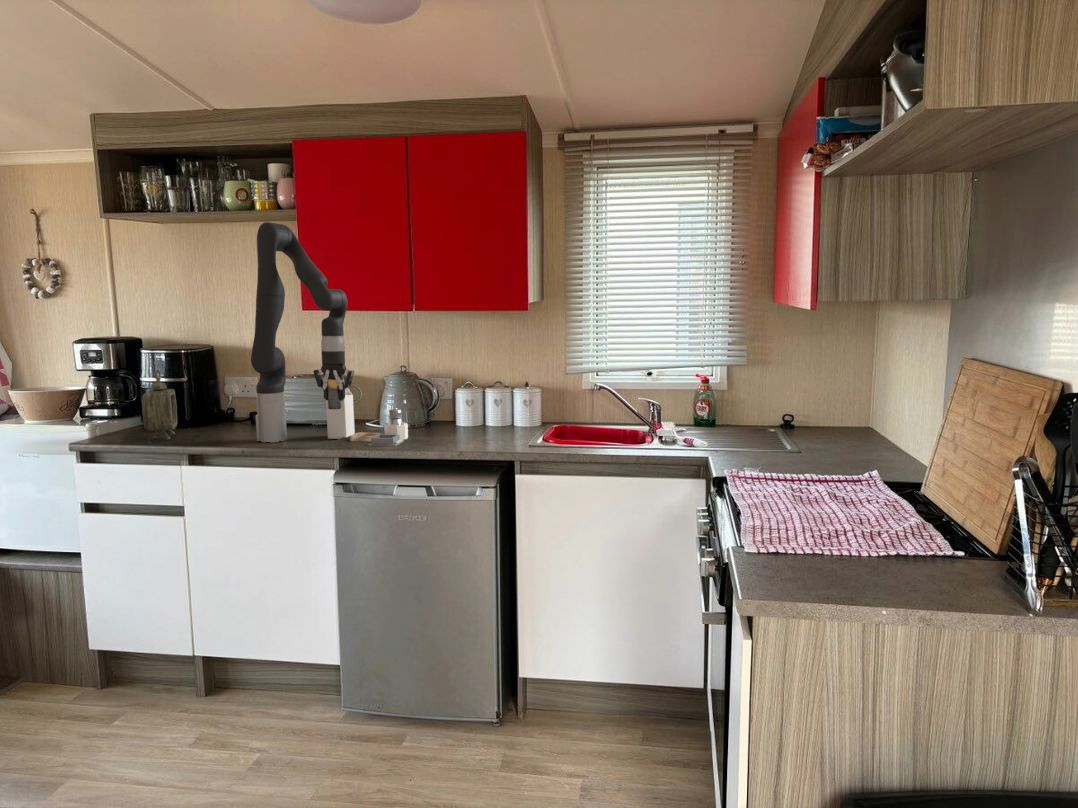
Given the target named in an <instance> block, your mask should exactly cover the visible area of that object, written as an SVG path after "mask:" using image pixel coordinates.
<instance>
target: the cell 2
mask: <svg viewBox="0 0 1078 808" xmlns="http://www.w3.org/2000/svg"><path fill="white" fill-rule="evenodd" d="M388 418H389V419H388V420H389V422H388V423H390V426H397V425H402V422H403V410H402V409H401V408H398V407H393V408H391V409H389V410H388Z"/></svg>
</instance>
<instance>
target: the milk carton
mask: <svg viewBox="0 0 1078 808" xmlns="http://www.w3.org/2000/svg"><path fill="white" fill-rule="evenodd" d="M341 406H342V408H341V409H328V400H325V407H326V409H325V411H326V425H327V426H326V427H327V428H326V429H327V439H330V440H333V439H334V440H335V439H336V440H340V439H342V438H348V437H350V436H351V435H353V434H355V432H356V430H355V414H354V411H355V409H354V394H353V393H352V391H351V390H350V387H348V388H346V389H345V399H344V400H343V401H341Z"/></svg>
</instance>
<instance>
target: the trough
mask: <svg viewBox="0 0 1078 808" xmlns="http://www.w3.org/2000/svg"><path fill="white" fill-rule="evenodd" d="M378 434H383V433H382V432H356V433H355V434H353V435H351V436H349V441H350V442H371V438H372V437H374V436H376V435H378Z"/></svg>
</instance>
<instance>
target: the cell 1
mask: <svg viewBox="0 0 1078 808" xmlns="http://www.w3.org/2000/svg"><path fill="white" fill-rule="evenodd" d="M340 380H341V379H340ZM327 390H328V409H341V408H342V406H341V401H339V390H340V388H339V385H338V383H337V381H336V379H328V382H327Z"/></svg>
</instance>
